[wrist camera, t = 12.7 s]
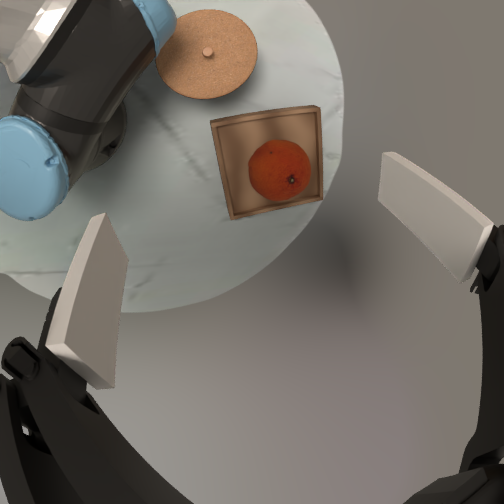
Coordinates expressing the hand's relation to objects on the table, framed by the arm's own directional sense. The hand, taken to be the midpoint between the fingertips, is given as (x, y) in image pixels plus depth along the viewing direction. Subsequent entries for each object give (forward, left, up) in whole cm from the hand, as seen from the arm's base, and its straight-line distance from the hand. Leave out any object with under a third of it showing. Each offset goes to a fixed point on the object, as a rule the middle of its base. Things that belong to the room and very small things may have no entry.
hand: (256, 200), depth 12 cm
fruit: (+8, -10, -29) cm, 31 cm away
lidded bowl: (+1, +8, -35) cm, 36 cm away
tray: (+8, -10, -34) cm, 36 cm away
